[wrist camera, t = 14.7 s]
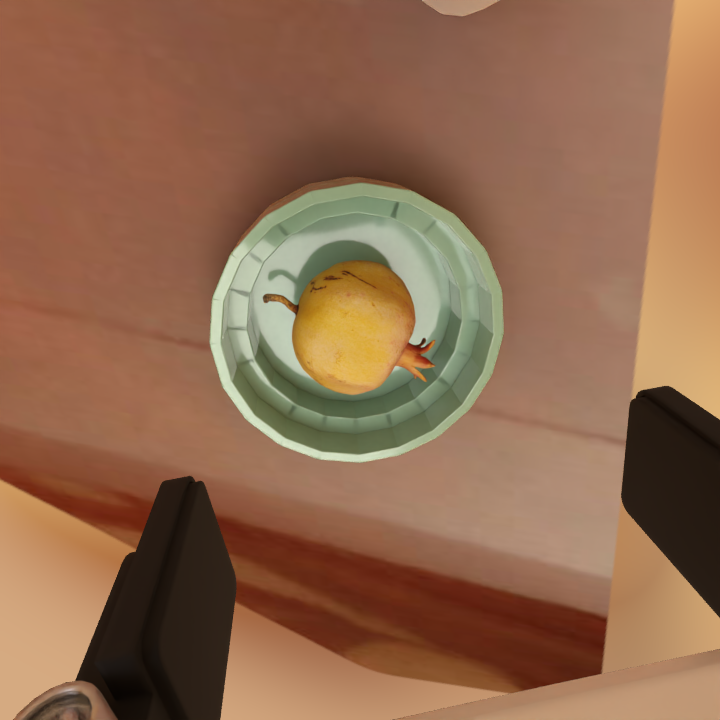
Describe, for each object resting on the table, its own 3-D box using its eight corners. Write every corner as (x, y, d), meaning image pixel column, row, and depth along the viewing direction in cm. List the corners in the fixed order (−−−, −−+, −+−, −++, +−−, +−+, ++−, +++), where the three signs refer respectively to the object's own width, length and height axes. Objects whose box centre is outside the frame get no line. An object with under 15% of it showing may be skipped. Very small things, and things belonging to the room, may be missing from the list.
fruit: (228, 377, 25) (403, 448, 28) (282, 263, 22) (478, 356, 24) (255, 307, 31) (399, 371, 33) (302, 208, 27) (459, 288, 30)
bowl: (257, 437, 34) (250, 484, 29) (192, 202, 28) (170, 215, 23) (480, 395, 34) (508, 435, 30) (465, 155, 28) (497, 159, 24)
